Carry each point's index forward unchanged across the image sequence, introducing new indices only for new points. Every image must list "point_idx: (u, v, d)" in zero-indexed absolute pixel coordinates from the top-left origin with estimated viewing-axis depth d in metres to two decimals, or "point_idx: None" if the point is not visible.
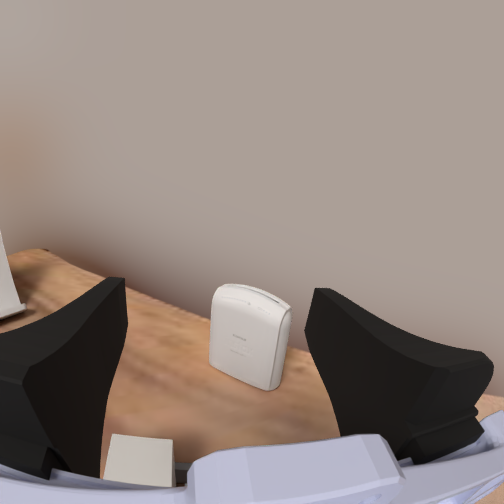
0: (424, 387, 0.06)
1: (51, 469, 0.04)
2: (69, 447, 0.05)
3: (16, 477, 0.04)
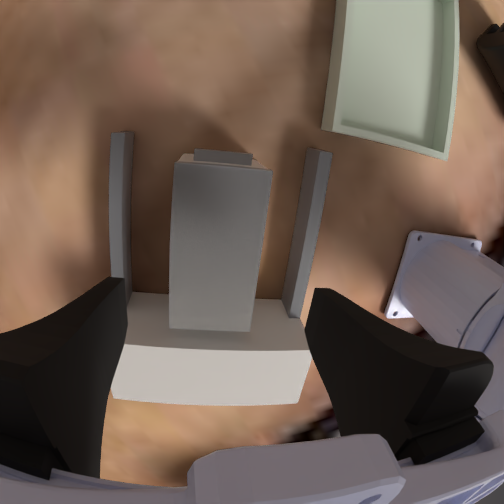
0: (424, 387, 0.06)
1: (50, 469, 0.04)
2: (69, 447, 0.05)
3: (16, 477, 0.04)
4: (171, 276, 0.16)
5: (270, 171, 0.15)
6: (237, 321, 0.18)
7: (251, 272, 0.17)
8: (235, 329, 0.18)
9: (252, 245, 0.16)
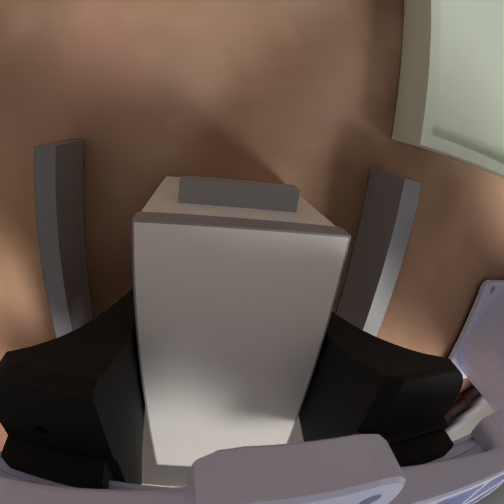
0: (376, 396, 0.05)
1: (108, 482, 0.04)
2: (124, 456, 0.05)
3: (16, 477, 0.04)
4: (150, 413, 0.08)
5: (345, 236, 0.07)
6: None
7: (290, 404, 0.09)
8: None
9: (296, 369, 0.08)
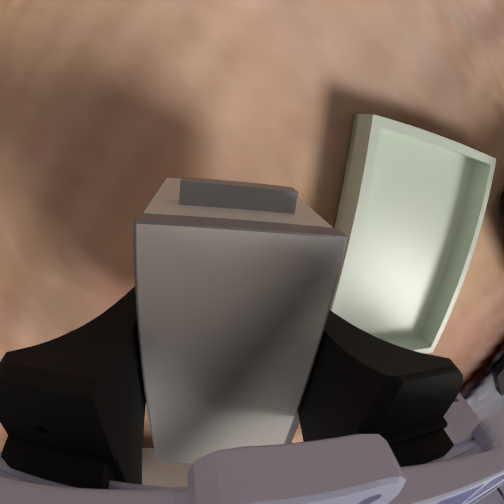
0: (376, 396, 0.05)
1: (108, 482, 0.04)
2: (124, 457, 0.05)
3: (16, 477, 0.04)
4: (151, 410, 0.08)
5: (342, 237, 0.07)
6: None
7: (289, 402, 0.09)
8: None
9: (295, 367, 0.08)
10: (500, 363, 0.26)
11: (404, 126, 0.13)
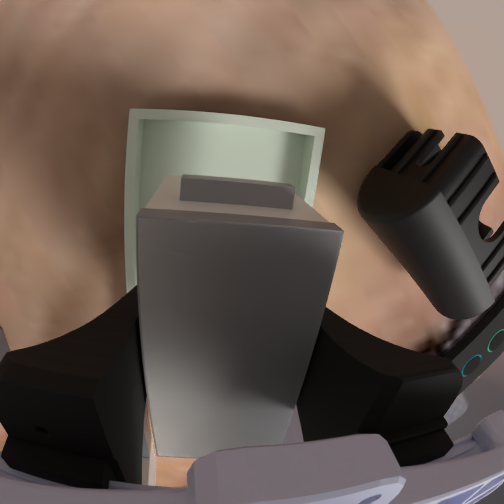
0: (376, 396, 0.05)
1: (108, 482, 0.04)
2: (124, 456, 0.05)
3: (16, 477, 0.04)
4: (151, 403, 0.09)
5: (338, 231, 0.07)
6: None
7: (287, 395, 0.09)
8: None
9: (293, 360, 0.09)
10: None
11: (167, 112, 0.14)
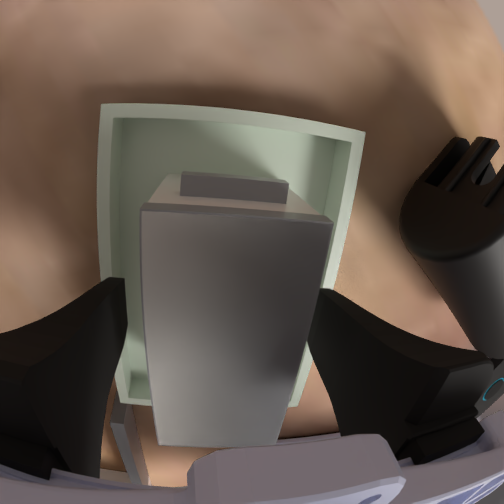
0: (424, 387, 0.06)
1: (50, 469, 0.04)
2: (69, 447, 0.05)
3: (16, 477, 0.04)
4: (153, 391, 0.09)
5: (328, 223, 0.08)
6: (258, 437, 0.11)
7: (283, 382, 0.10)
8: (254, 444, 0.11)
9: (288, 347, 0.09)
10: None
11: (151, 107, 0.10)
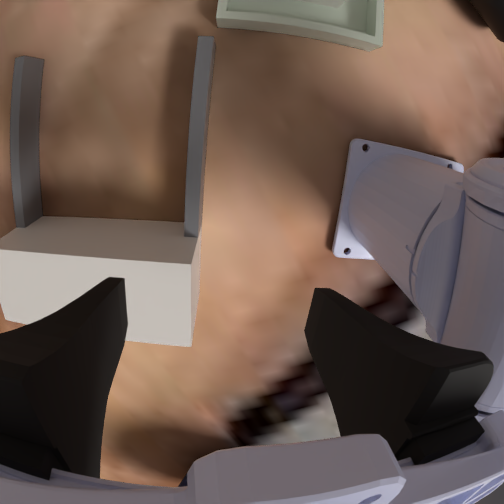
0: (424, 387, 0.06)
1: (51, 469, 0.04)
2: (69, 447, 0.05)
3: (16, 477, 0.04)
4: None
5: None
6: None
7: None
8: None
9: None
10: None
11: None
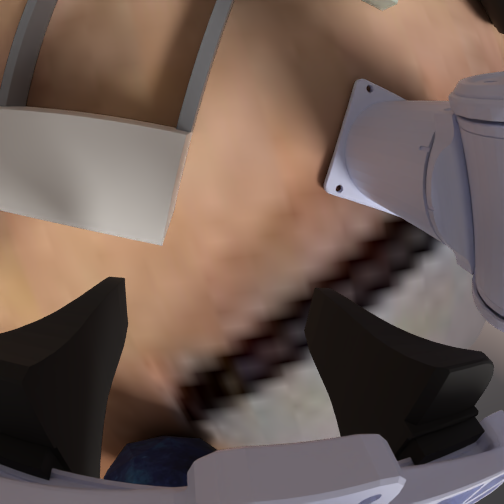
0: (424, 387, 0.06)
1: (51, 469, 0.04)
2: (69, 447, 0.05)
3: (16, 477, 0.04)
4: None
5: None
6: None
7: None
8: None
9: None
10: None
11: None
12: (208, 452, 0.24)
